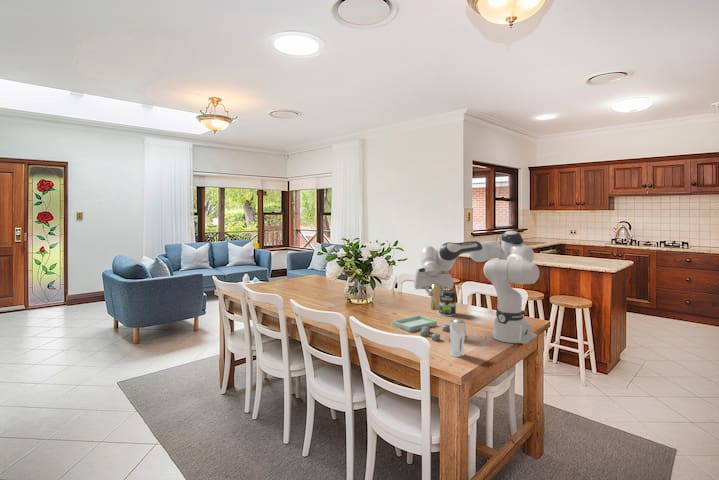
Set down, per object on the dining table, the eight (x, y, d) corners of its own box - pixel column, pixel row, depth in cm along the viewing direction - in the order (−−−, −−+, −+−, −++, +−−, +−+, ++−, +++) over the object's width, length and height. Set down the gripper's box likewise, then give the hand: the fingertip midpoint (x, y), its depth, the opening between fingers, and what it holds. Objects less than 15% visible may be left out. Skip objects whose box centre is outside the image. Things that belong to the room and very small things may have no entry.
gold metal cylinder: (435, 307, 199) (436, 283, 198) (441, 309, 195) (442, 284, 194) (429, 308, 197) (429, 284, 195) (435, 310, 193) (435, 285, 192)
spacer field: (440, 326, 207) (440, 322, 207) (471, 337, 189) (471, 332, 189) (414, 333, 196) (414, 328, 196) (444, 345, 179) (445, 340, 179)
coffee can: (455, 316, 226) (455, 293, 225) (437, 315, 229) (438, 292, 228) (456, 312, 236) (456, 290, 235) (439, 311, 239) (439, 289, 238)
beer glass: (464, 358, 163) (465, 324, 162) (447, 356, 166) (448, 322, 164) (466, 352, 170) (466, 320, 168) (450, 350, 172) (450, 318, 171)
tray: (419, 319, 221) (419, 315, 221) (436, 325, 209) (436, 320, 209) (392, 325, 210) (392, 320, 210) (409, 332, 198) (409, 327, 198)
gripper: (449, 276, 207) (454, 298, 198) (412, 276, 205) (415, 298, 197) (452, 269, 202) (457, 292, 193) (414, 269, 200) (417, 292, 192)
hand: (435, 295), depth 195 cm, fingers closed on gold metal cylinder, 4 cm apart
